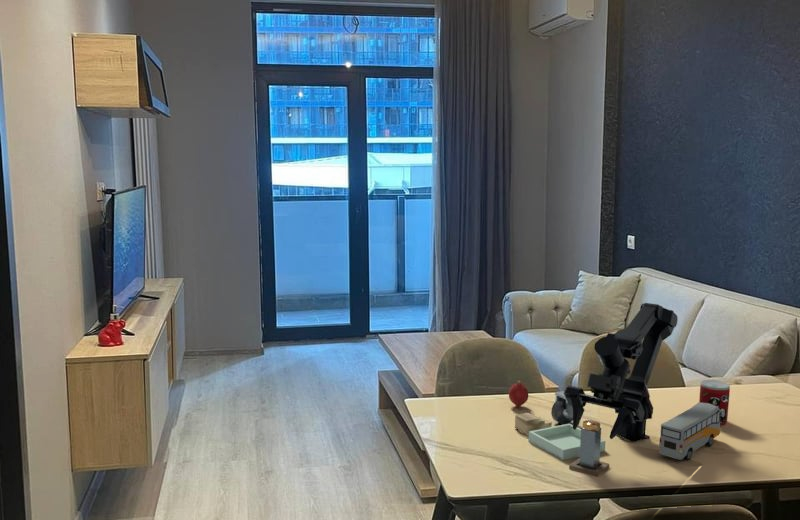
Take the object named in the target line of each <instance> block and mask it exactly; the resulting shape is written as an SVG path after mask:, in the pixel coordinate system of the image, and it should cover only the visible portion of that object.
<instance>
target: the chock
mask: <svg viewBox="0 0 800 520" xmlns="http://www.w3.org/2000/svg"><path fill="white" fill-rule="evenodd" d="M514 419H515V420H514V429H515V428H516V429H518V430H519V432H520V431H521V432H520V433H522V432H523V433H525V434H528V435H529V431H534V430H539V429H544V428H549V427H552V422H551V421H550V420H548V419H545V418H543V417H541V416H536V415H535V414H531V413H529V412H524V413H519V414H515V418H514ZM516 429H515V430H516ZM518 430H517V431H518ZM523 433H522V434H523ZM525 434H524V435H525Z"/></svg>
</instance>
